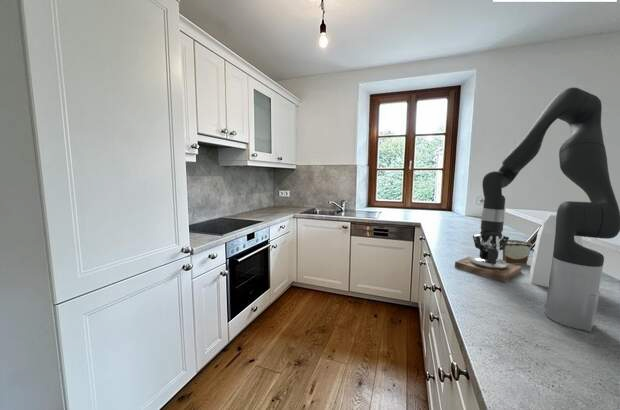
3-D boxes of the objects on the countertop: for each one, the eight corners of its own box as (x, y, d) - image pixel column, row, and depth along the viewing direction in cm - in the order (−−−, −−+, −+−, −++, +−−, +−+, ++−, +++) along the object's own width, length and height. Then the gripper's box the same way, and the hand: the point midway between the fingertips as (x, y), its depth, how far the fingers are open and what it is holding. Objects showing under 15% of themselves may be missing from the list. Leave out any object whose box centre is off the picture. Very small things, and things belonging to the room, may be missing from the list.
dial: (466, 256, 112) (467, 241, 111) (500, 260, 107) (502, 244, 107) (473, 266, 100) (475, 248, 99) (512, 271, 95) (514, 252, 95)
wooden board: (520, 272, 102) (521, 265, 101) (504, 282, 92) (505, 275, 91) (472, 259, 117) (473, 254, 116) (454, 267, 106) (455, 261, 106)
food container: (520, 260, 117) (522, 239, 116) (530, 264, 111) (533, 243, 110) (492, 258, 118) (495, 238, 117) (501, 263, 112) (504, 242, 111)
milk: (571, 282, 93) (581, 215, 89) (577, 293, 84) (589, 219, 81) (529, 274, 100) (537, 212, 97) (531, 283, 91) (540, 215, 88)
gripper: (502, 218, 105) (498, 256, 107) (469, 217, 105) (466, 255, 107) (517, 221, 97) (512, 262, 99) (481, 220, 98) (477, 261, 100)
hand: (488, 258), depth 103 cm, fingers closed on dial, 4 cm apart
